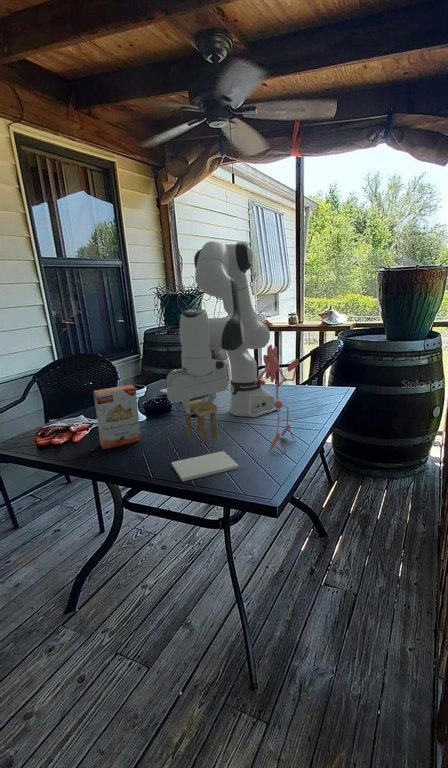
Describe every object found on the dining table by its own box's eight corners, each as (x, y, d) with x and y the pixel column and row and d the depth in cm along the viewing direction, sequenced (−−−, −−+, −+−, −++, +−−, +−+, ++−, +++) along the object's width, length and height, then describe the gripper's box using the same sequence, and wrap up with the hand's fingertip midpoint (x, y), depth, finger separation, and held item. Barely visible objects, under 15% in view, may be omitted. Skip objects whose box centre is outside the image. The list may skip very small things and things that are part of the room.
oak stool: (218, 438, 122) (216, 405, 120) (202, 443, 119) (200, 409, 116) (201, 430, 129) (199, 399, 127) (185, 435, 126) (182, 403, 123)
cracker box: (103, 450, 143) (95, 394, 138) (100, 444, 149) (92, 390, 143) (141, 441, 149) (135, 387, 144) (137, 436, 155) (131, 383, 149)
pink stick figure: (305, 433, 148) (303, 338, 140) (279, 462, 127) (274, 352, 118) (267, 428, 156) (262, 338, 147) (236, 455, 135) (228, 351, 126)
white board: (223, 453, 135) (223, 450, 135) (238, 468, 125) (238, 465, 124) (171, 465, 129) (171, 462, 129) (182, 481, 118) (182, 478, 118)
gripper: (172, 373, 110) (176, 421, 113) (230, 361, 122) (232, 405, 126) (160, 370, 115) (164, 416, 118) (217, 358, 127) (219, 400, 130)
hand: (200, 410), depth 122 cm, fingers closed on oak stool, 6 cm apart
